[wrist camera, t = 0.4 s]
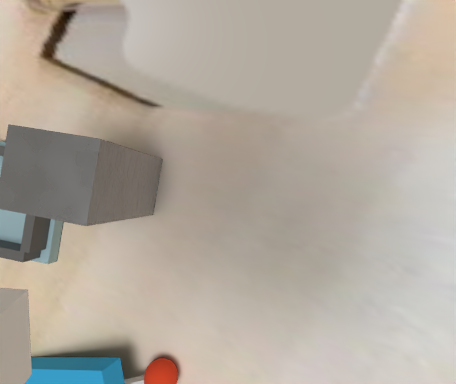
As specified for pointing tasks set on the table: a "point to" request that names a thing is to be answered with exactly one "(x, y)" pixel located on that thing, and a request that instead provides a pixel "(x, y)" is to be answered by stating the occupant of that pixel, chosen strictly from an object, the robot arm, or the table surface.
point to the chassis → (28, 234)
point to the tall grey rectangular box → (75, 178)
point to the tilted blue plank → (97, 371)
